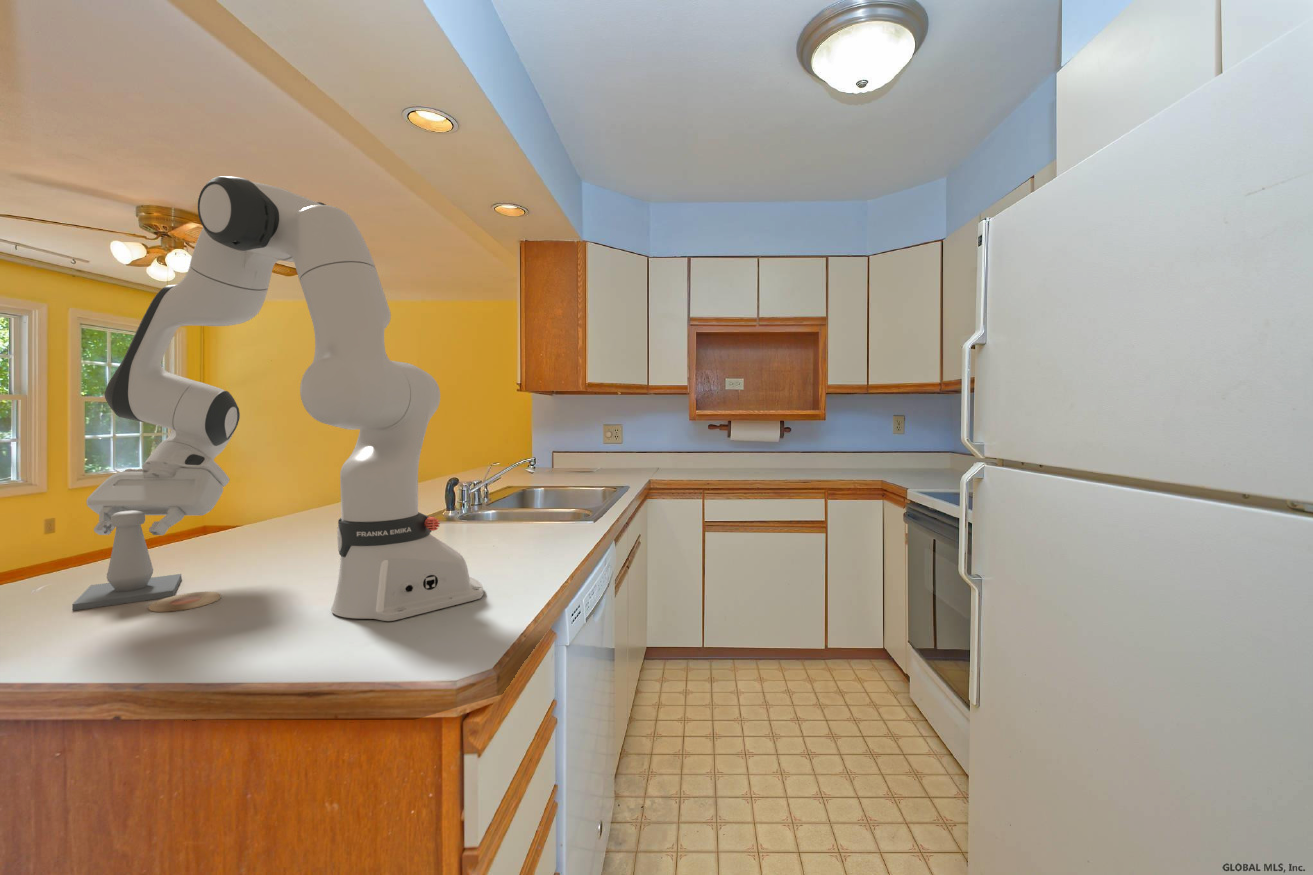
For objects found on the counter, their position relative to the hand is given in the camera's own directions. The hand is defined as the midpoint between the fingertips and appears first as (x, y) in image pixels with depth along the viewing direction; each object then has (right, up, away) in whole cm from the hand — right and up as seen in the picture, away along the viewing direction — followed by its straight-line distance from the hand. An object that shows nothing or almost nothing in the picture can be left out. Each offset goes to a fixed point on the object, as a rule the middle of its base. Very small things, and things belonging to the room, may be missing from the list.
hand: (128, 533), depth 96 cm
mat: (0, -10, +1) cm, 10 cm away
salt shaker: (0, -10, +1) cm, 10 cm away
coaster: (+13, -11, -4) cm, 17 cm away
